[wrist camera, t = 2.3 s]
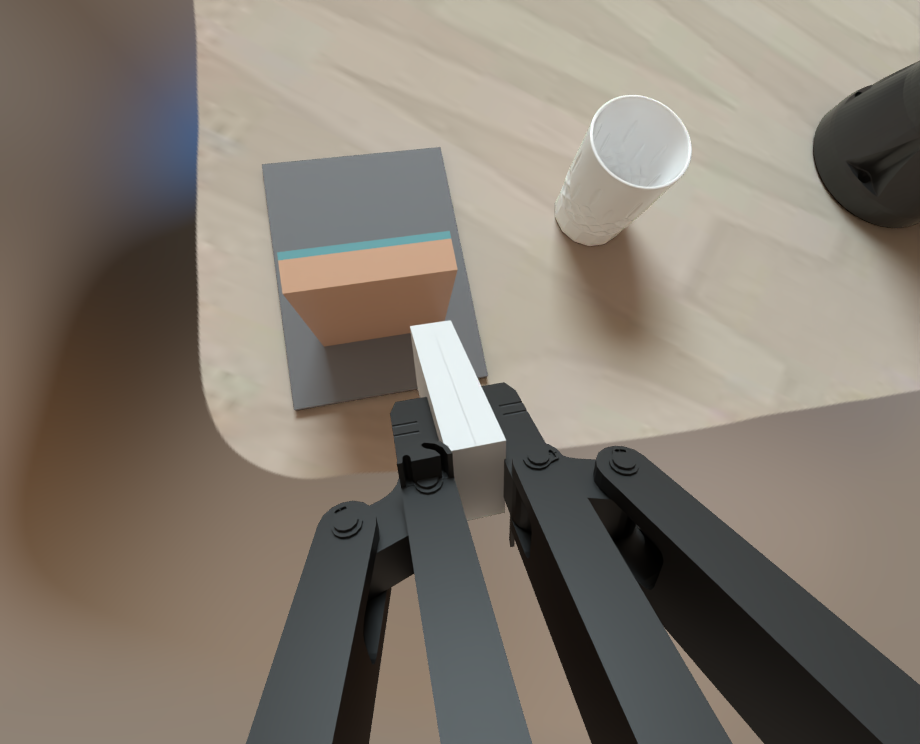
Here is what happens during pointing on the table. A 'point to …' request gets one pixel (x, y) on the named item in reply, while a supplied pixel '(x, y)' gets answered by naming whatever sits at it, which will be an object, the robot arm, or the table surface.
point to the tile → (370, 286)
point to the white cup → (621, 168)
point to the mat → (357, 220)
